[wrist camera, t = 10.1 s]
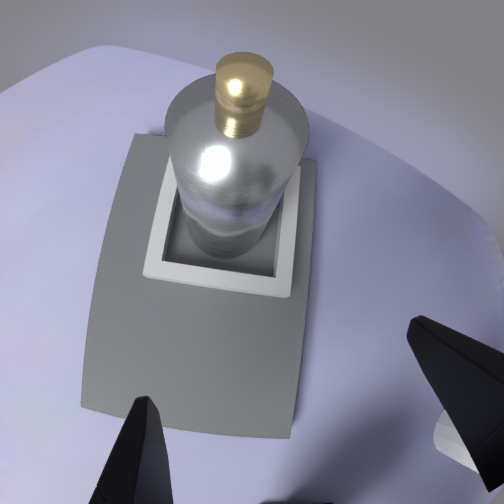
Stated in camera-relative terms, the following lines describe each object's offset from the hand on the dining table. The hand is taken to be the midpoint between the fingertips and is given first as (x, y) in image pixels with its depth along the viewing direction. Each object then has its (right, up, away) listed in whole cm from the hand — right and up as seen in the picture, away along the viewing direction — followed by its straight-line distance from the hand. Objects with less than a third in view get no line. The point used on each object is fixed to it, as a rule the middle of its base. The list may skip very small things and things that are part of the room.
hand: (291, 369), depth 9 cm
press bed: (-5, +2, +12) cm, 13 cm away
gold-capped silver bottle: (-3, +6, +12) cm, 13 cm away
